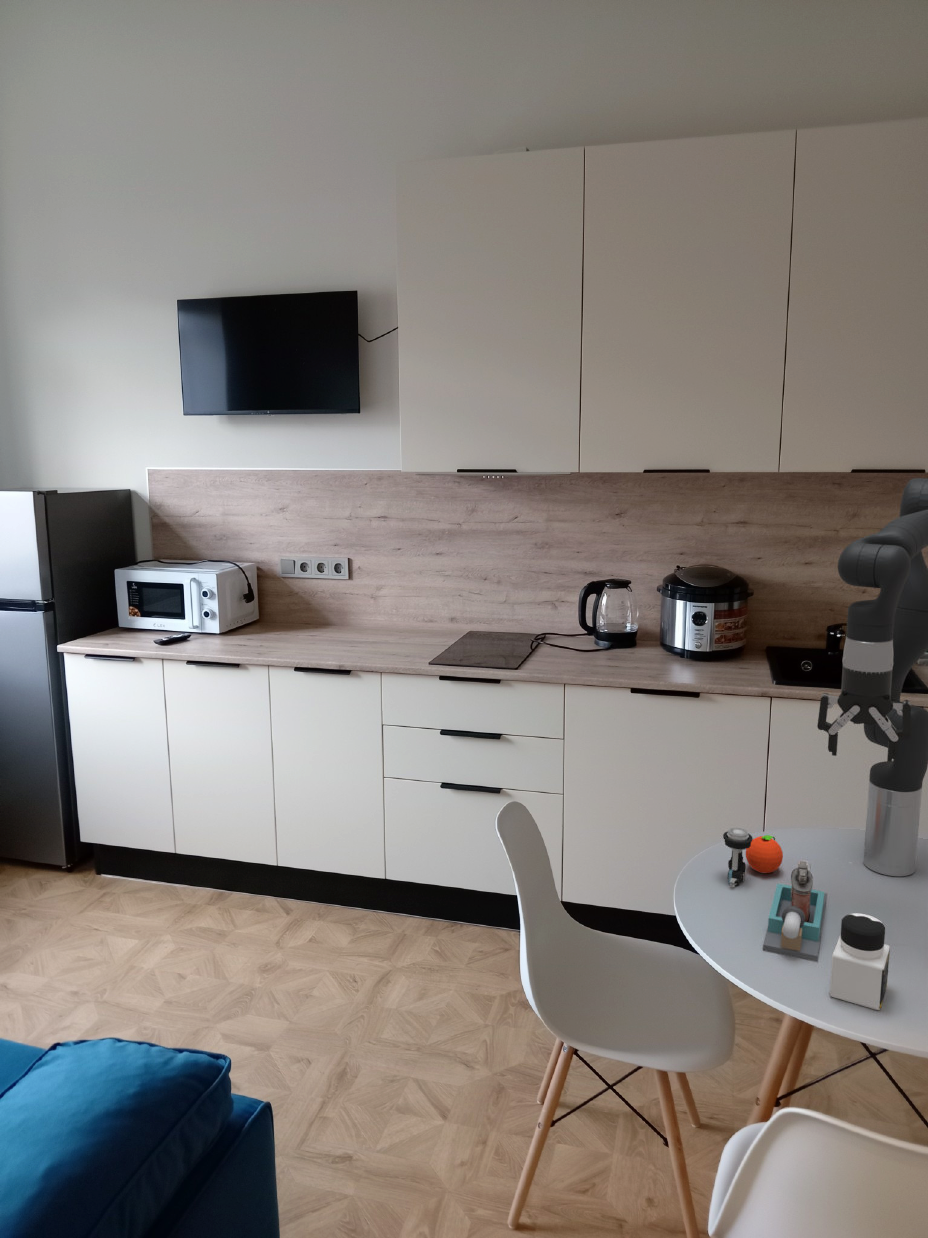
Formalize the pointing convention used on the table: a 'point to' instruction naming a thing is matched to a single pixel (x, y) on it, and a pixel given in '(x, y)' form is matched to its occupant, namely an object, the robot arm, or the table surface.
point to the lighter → (802, 889)
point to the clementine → (764, 854)
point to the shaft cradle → (795, 924)
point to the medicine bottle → (860, 962)
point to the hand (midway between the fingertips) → (861, 757)
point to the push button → (737, 853)
